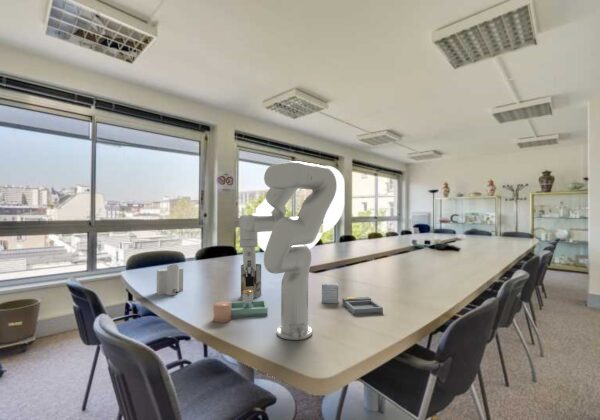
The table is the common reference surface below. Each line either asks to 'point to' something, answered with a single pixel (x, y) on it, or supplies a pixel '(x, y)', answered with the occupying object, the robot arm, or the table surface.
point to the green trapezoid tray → (249, 309)
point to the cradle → (361, 306)
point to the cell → (247, 299)
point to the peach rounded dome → (222, 312)
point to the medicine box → (329, 292)
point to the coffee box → (256, 281)
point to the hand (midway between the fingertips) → (249, 283)
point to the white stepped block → (170, 280)
